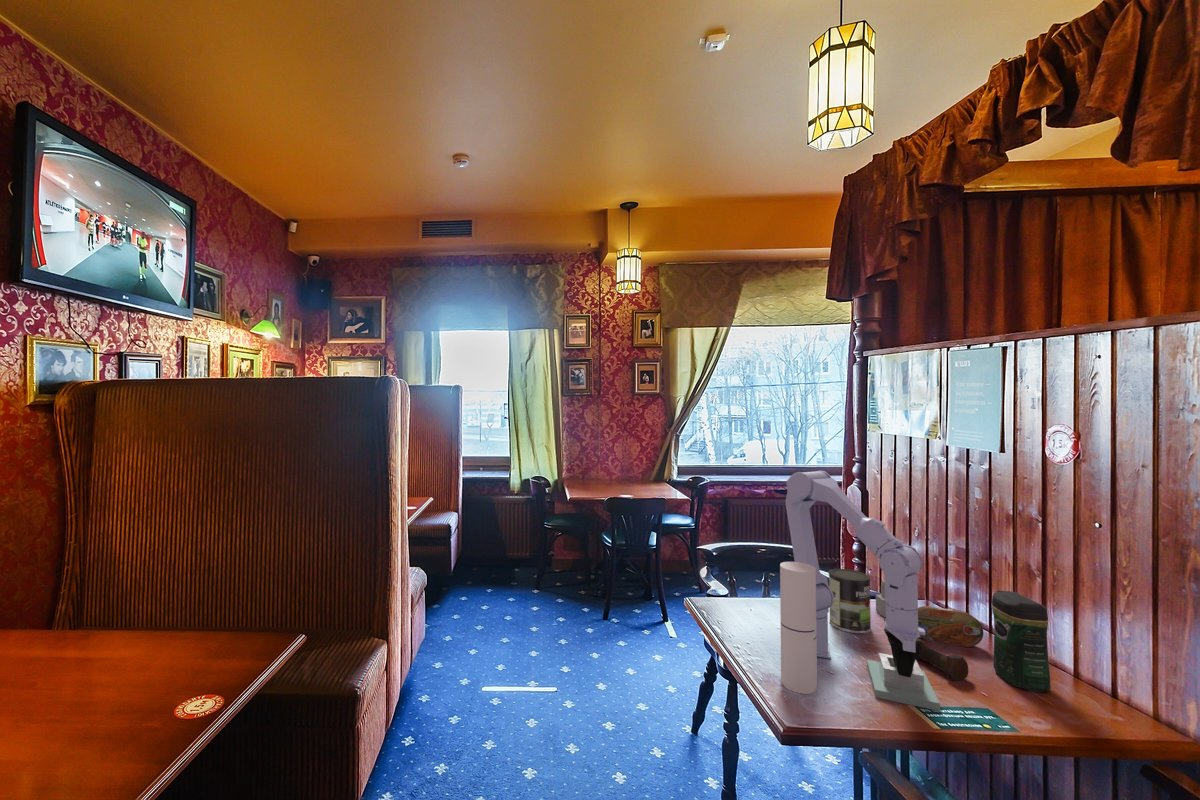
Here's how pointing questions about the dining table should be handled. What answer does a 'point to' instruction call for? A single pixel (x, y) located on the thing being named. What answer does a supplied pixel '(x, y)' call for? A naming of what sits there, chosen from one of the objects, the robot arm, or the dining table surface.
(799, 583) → the cylindrical container
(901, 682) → the grey boxy piece
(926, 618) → the tin
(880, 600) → the padlock
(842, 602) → the coffee can
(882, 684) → the plate
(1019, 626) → the coffee jar
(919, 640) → the bolt
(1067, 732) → the dining table surface
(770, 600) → the dining table surface
